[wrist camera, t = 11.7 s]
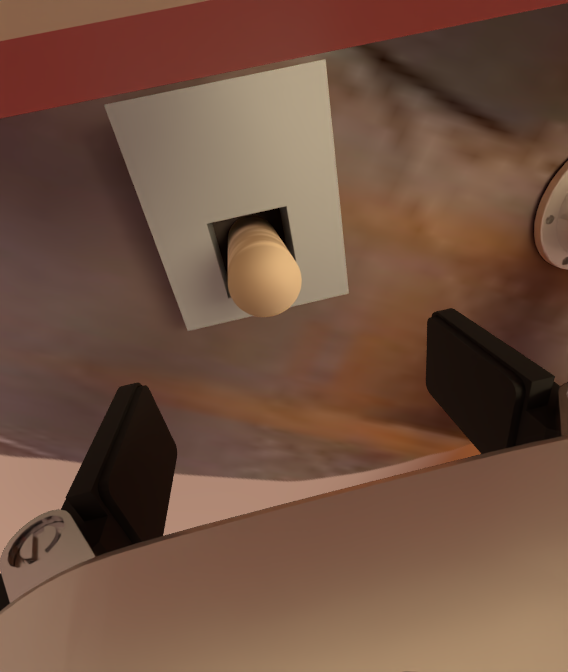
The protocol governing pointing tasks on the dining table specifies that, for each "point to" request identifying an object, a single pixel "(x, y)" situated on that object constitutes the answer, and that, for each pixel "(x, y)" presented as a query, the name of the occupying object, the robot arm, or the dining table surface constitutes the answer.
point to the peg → (260, 268)
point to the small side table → (193, 39)
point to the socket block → (236, 179)
